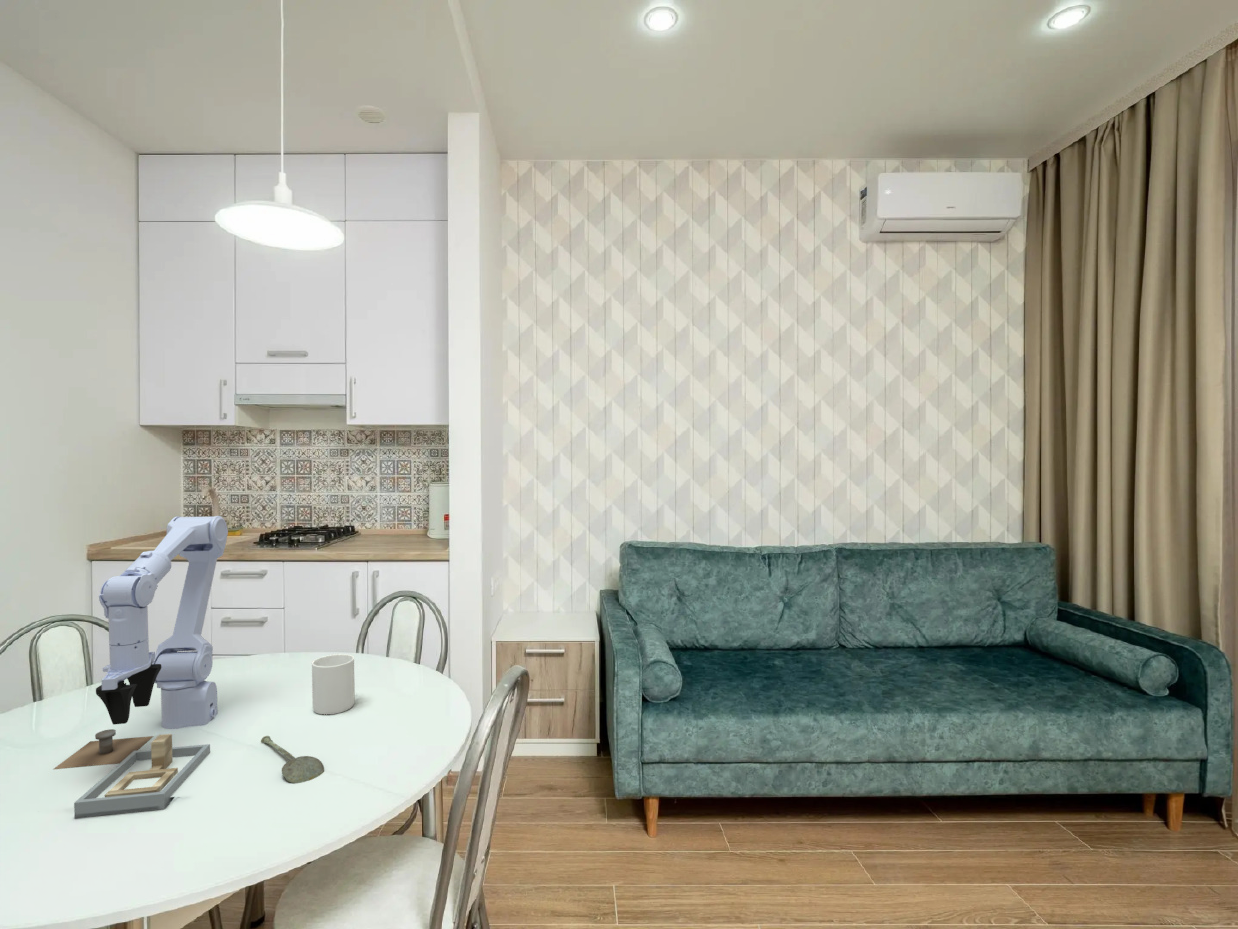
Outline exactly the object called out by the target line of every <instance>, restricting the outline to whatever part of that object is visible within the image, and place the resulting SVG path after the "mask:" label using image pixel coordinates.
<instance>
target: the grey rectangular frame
mask: <svg viewBox="0 0 1238 929" xmlns="http://www.w3.org/2000/svg"><path fill="white" fill-rule="evenodd" d="M210 753H211V744H210V743H207V744H197V745H196V744H195V745H184V746H172V758H182V757H191V756H193V757H192V758H191V759H190V760H189V761H188V762H187V763H186V764H185V765H184V767H183V768H182V769H181V770H179V771H178V773H177V774H176V775H175V776H174V777H173V778H172V779H171V780H170V781H169V782H168V783H167V784H166V785H165V787H164V788H163V789H162V790H161V791H160V792H154V793H144V794H134V795H124V796H114V797H105V796H103V797H99V796H100V795H101V794H102V793H103V792H104V791H105V790H107V789H108V787H109V786H111V785H112V783H113V784H114V782H115V781H116V780H117V779H118V778H119V777H121V776H122V775H123V774H124V773H125V772H127V770H128V769H130V768H131V767H132V766H133V765H134V764H135V763H136V762H137V761H149V760H152V758H151V748H149V749H139V750H137V751H133V752H132V753H131V754H130V755H129V756H128V757H126V758H125V759H124V760H123V761H122V762H121V763H119V764H117V765H115V767H114V768H113V769H111V770H110V771H108V773H107V774H105V775H104V776H103V777H102V778H101V779H99V780H98V781H97V783H95V784H94V785H93V786H92V787H90V789H89V790H87V791H86V792H84V794H82V795H81V796H80V797H79V798H78V799H77V800H76V801H74V802H73V807H74V808H73V809H74V811H73V813H74V819H83V818H92V817H103V816H110V815H120V814H129V813H131V814H132V813H139V812H140V813H141V812H147V811H148V812H149V811H150V812H151V811H159V810H165V809H166V808H167V807H168V806H169V805H170V804H171V802H172V801H174V799H175V798H176V796H172V795H173V794H174V793H175V792H176V791H177V790H178V789H179V787H180V786H181V785H182V784H183V783H185V781H187V779H188V778H189V776H191V774H192V773H193V772H194V771H195V770H196V768H197V767H198V766H199V765H200V764H201V763H203V761H204V760H205V759H206V758H207V756H209V754H210ZM171 796H172V797H171Z"/></svg>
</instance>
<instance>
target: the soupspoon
mask: <svg viewBox="0 0 1238 929" xmlns="http://www.w3.org/2000/svg"><path fill="white" fill-rule="evenodd" d="M260 743H261V744H265V745H270V746H272V748H274V749H275V750H276V751H278V752H279V753H281V754H282V755H283V756H284V757H285V758H287V760H288V761H287V762H286V763H284V764H283V766H282V768H281V774H282V776H283V777H284V778H285V780H286V781H287V782H289V783H291V784H295V785H296V784H301V783H305V782H309V781H312V780H314V779H316V778H318V777H320V776H322V775H323V774H324V772H325V767H324V764H323V762H322V761H321V760H320V759H319V758H317V757H315V756H310V755H302V756H297V757H295V756H293V754H291V753H290V752H289V751H287V750H286V749H285V748H283V747H281V746H279V745H278V744H276V743H275V742H274V741H273V739H272V738H271V736H269V735H264V736H263V737H262V738H261V739H260Z"/></svg>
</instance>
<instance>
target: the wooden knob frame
mask: <svg viewBox="0 0 1238 929" xmlns="http://www.w3.org/2000/svg"><path fill="white" fill-rule="evenodd" d="M172 747H173V734H172V733H167V734H166V733H165V734H159V735H157V736H156V737H155V738H154V739H153V740H151V742H150V749H151V758H152V759H151V767H150V769H148V770H138V771H129V772H128V773H127V774H126V775H125V776H124V777H123V778H121V779H120V780H119V781H118V782H117V783H116V784H115V785H114V786H112V788H110V790H108V791H107V792H106V793H105V794H104V797H114V796H124V795H134V794H144V793H154V792H161V791H162V790H163V789H164V788H165V787H166V786H167V785H168V784H169V783H170V782H171V780H172V779H173V778H174V777H175V776H176V775H177V774H178V773H179V769H178V767H173V768H172V767H171V768H168V767H169V766H170V765H171V764H172V763H173V757H172ZM156 778H158V780H157V781H156V782H155V783H154V784H152V786H145V787H137V788H136V787H135V788H127V787H128V786H129V785H131V783H132V782H133V781H136V780H144V779H145V780H146V779H156Z"/></svg>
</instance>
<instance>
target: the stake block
mask: <svg viewBox="0 0 1238 929" xmlns="http://www.w3.org/2000/svg"><path fill="white" fill-rule="evenodd" d="M116 732H117V731H116V729H109V728H108V729H105V730H101V731H99V732H97V733H95V740H91V741H89V742H87V743H86V744H85V745H82V747H80V749H78V750H76V752H74V753H73V754H72V755H70V756H69V757H68V758H67V757H66V759H64V760H63V761H62V762H61V763H59V764H58V765H57V766H55V767H54V768H53V770H62V769H73V768H74V769H75V768H85V767H95V766H96V767H97V766H107V765H116V764H117V765H118V764H119V763H121V762H122V761H123V760H124V759H125V758H126V757H128V756H129V755H130V754H131V753H132V752H133V751H137V750H141V748H142V747H143V746H144V745H145V744H147V743H148V742H149V741H150V740H152V738H153V737H154V736H153V735H151V736H148V735H147V736H140V737H127V738H125V737H124V738H115V739H113V737H115V736H116V734H117V733H116Z"/></svg>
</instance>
